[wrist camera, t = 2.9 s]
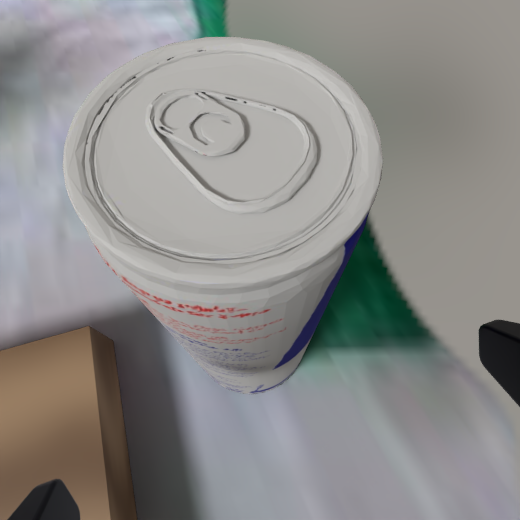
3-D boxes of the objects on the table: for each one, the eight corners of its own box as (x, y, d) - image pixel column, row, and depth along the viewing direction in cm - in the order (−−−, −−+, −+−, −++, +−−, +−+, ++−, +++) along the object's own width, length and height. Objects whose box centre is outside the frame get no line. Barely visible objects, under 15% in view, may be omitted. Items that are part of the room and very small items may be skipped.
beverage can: (308, 393, 19) (422, 284, 5) (195, 396, 19) (13, 294, 5) (300, 287, 21) (365, 21, 8) (200, 290, 21) (83, 28, 8)
